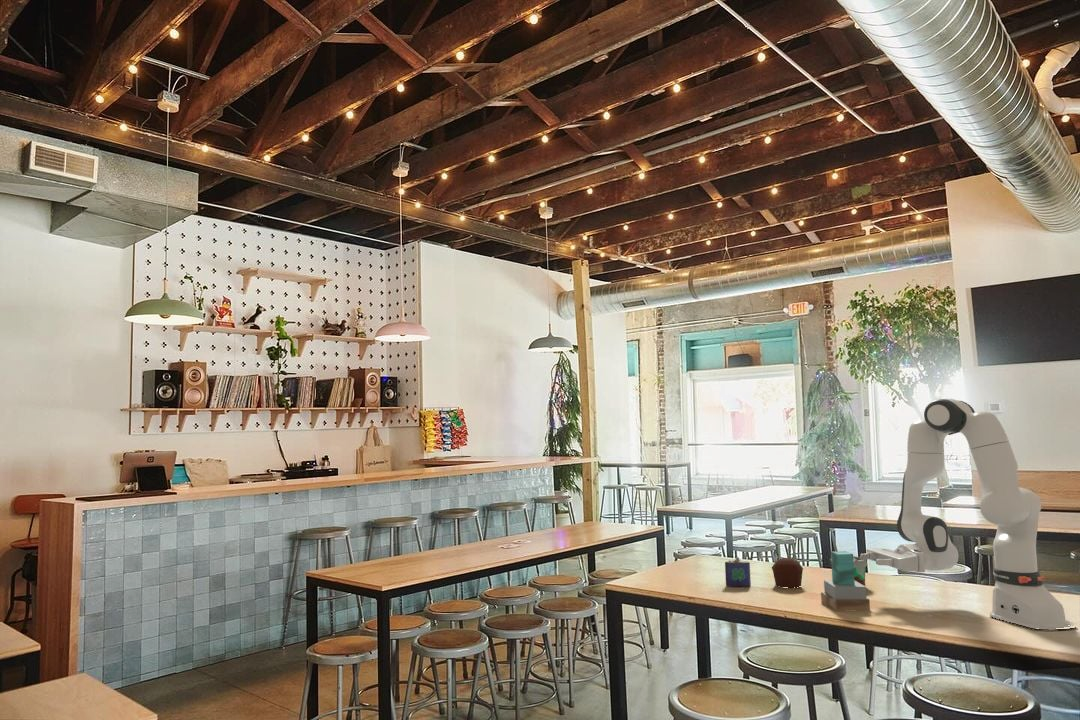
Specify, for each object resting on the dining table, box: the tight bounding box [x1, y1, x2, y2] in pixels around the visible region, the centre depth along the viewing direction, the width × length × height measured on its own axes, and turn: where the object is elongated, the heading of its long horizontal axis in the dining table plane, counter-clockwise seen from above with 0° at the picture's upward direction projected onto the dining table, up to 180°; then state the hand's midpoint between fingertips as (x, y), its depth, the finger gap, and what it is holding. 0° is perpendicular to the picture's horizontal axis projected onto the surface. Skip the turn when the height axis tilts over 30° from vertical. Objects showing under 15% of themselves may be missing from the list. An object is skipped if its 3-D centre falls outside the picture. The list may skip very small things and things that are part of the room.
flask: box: [724, 556, 752, 588], centre depth 267 cm, size 9×3×11 cm, turn 88°
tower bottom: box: [820, 591, 871, 612], centre depth 236 cm, size 11×11×4 cm
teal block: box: [830, 550, 855, 585], centre depth 237 cm, size 5×5×10 cm
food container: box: [853, 555, 868, 587], centre depth 263 cm, size 12×6×10 cm, turn 168°
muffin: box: [771, 557, 804, 589], centre depth 266 cm, size 12×11×10 cm
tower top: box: [823, 579, 867, 600], centre depth 236 cm, size 10×10×4 cm
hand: (869, 559), depth 237 cm, fingers open, 8 cm apart
